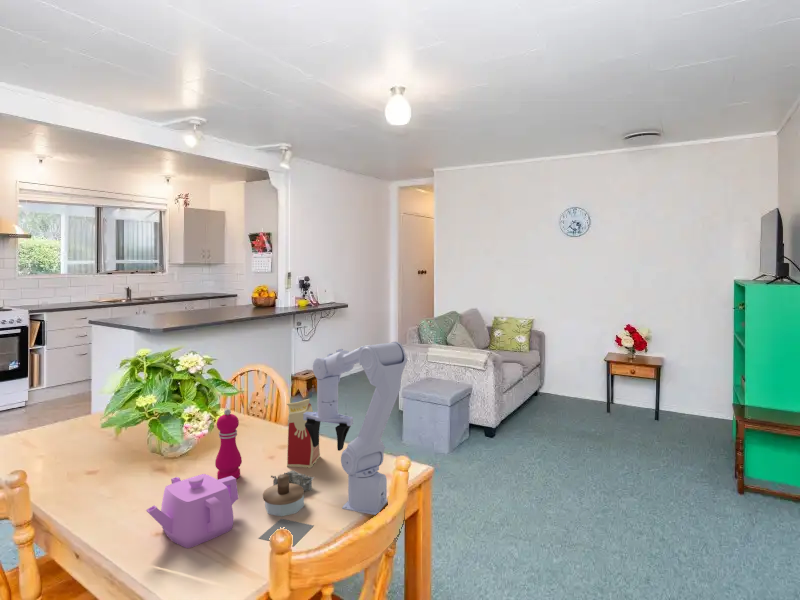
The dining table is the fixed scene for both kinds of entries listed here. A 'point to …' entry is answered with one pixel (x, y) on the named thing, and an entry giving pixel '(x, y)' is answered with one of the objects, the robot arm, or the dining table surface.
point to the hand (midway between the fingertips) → (328, 447)
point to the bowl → (285, 508)
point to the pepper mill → (228, 447)
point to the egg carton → (297, 480)
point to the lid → (283, 492)
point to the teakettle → (196, 509)
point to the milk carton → (300, 437)
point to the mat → (294, 527)
